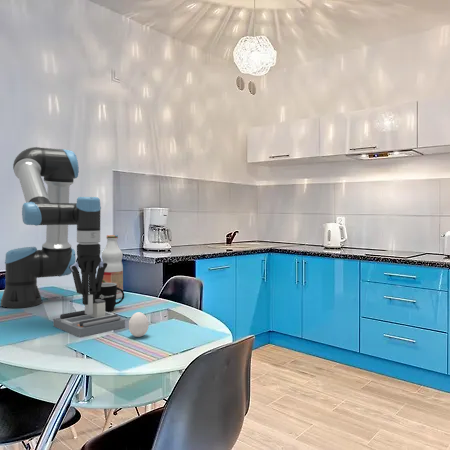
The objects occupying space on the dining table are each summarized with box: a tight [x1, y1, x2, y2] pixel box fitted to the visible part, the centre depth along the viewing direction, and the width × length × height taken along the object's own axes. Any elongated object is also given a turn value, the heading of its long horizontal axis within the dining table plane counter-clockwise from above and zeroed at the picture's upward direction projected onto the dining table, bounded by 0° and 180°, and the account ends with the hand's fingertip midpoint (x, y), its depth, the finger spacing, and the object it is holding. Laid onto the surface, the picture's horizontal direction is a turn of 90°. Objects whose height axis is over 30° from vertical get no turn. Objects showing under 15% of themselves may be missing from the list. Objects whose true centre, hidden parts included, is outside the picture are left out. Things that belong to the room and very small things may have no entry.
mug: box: [95, 283, 125, 313], centre depth 167 cm, size 12×9×10 cm
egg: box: [128, 311, 150, 338], centre depth 131 cm, size 6×6×8 cm
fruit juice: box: [101, 234, 124, 300], centre depth 190 cm, size 9×9×28 cm
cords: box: [59, 309, 122, 327], centre depth 142 cm, size 13×16×2 cm
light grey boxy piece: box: [91, 299, 105, 318], centre depth 144 cm, size 4×3×6 cm
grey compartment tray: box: [52, 311, 126, 338], centre depth 142 cm, size 18×16×3 cm
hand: (88, 313), depth 142 cm, fingers closed
